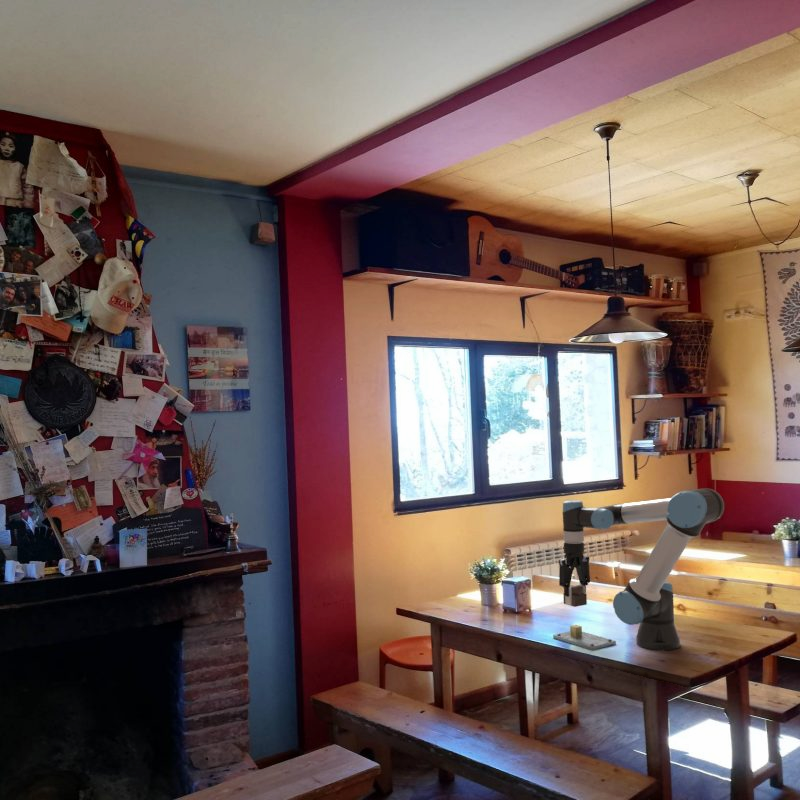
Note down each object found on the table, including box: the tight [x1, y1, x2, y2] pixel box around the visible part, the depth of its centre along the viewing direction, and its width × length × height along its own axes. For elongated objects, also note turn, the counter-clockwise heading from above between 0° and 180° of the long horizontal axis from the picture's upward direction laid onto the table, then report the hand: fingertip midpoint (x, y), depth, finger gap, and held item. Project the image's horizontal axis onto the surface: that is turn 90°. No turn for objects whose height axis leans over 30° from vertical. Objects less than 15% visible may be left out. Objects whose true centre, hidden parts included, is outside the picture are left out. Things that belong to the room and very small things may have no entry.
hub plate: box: [552, 624, 617, 651], centre depth 294 cm, size 20×12×5 cm, turn 32°
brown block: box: [563, 584, 588, 608], centre depth 298 cm, size 6×6×7 cm
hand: (575, 603), depth 298 cm, fingers closed on brown block, 6 cm apart
